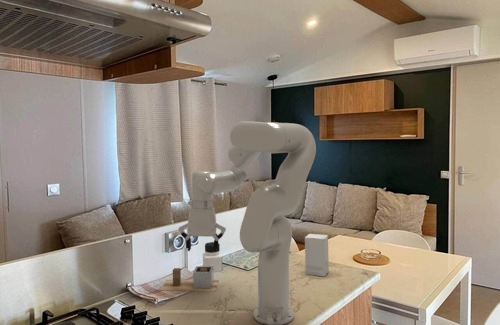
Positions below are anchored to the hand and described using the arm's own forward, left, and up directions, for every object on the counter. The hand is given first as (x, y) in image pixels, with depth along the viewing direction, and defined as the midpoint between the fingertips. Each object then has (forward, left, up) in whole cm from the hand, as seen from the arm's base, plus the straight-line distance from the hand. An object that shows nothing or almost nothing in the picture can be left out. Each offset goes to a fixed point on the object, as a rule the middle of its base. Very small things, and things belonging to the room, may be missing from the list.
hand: (202, 250), depth 141 cm
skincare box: (+16, -44, -14) cm, 49 cm away
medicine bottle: (+18, -1, -14) cm, 23 cm away
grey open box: (0, 0, -13) cm, 13 cm away
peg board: (0, +5, -14) cm, 15 cm away
